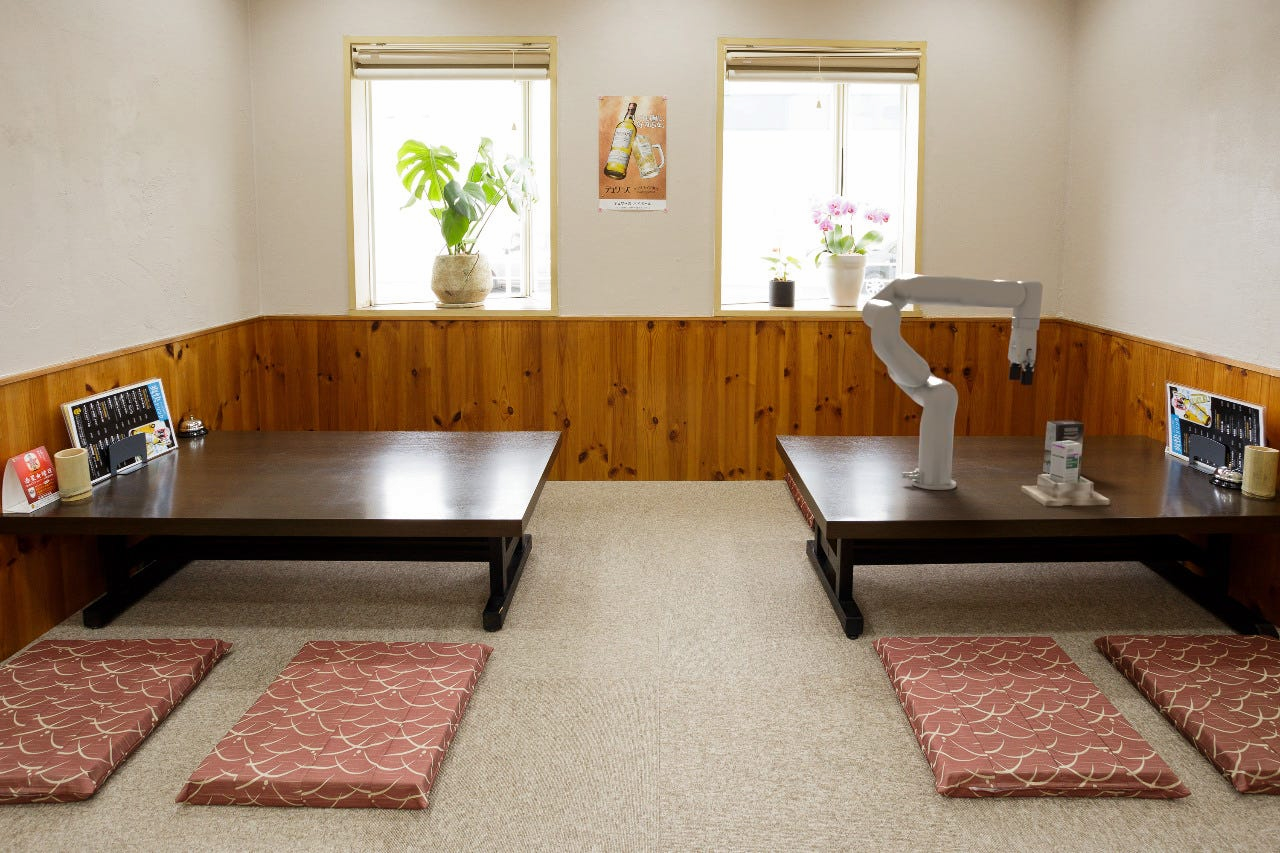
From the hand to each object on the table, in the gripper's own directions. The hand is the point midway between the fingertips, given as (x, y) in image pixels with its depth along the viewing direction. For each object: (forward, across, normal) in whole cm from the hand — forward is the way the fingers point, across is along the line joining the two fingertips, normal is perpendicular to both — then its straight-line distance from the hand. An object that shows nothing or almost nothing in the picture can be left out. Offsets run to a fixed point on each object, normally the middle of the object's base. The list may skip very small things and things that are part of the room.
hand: (1020, 382), depth 302 cm
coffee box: (+30, -12, +20) cm, 38 cm away
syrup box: (+29, +16, +9) cm, 34 cm away
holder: (+30, +17, +9) cm, 36 cm away
